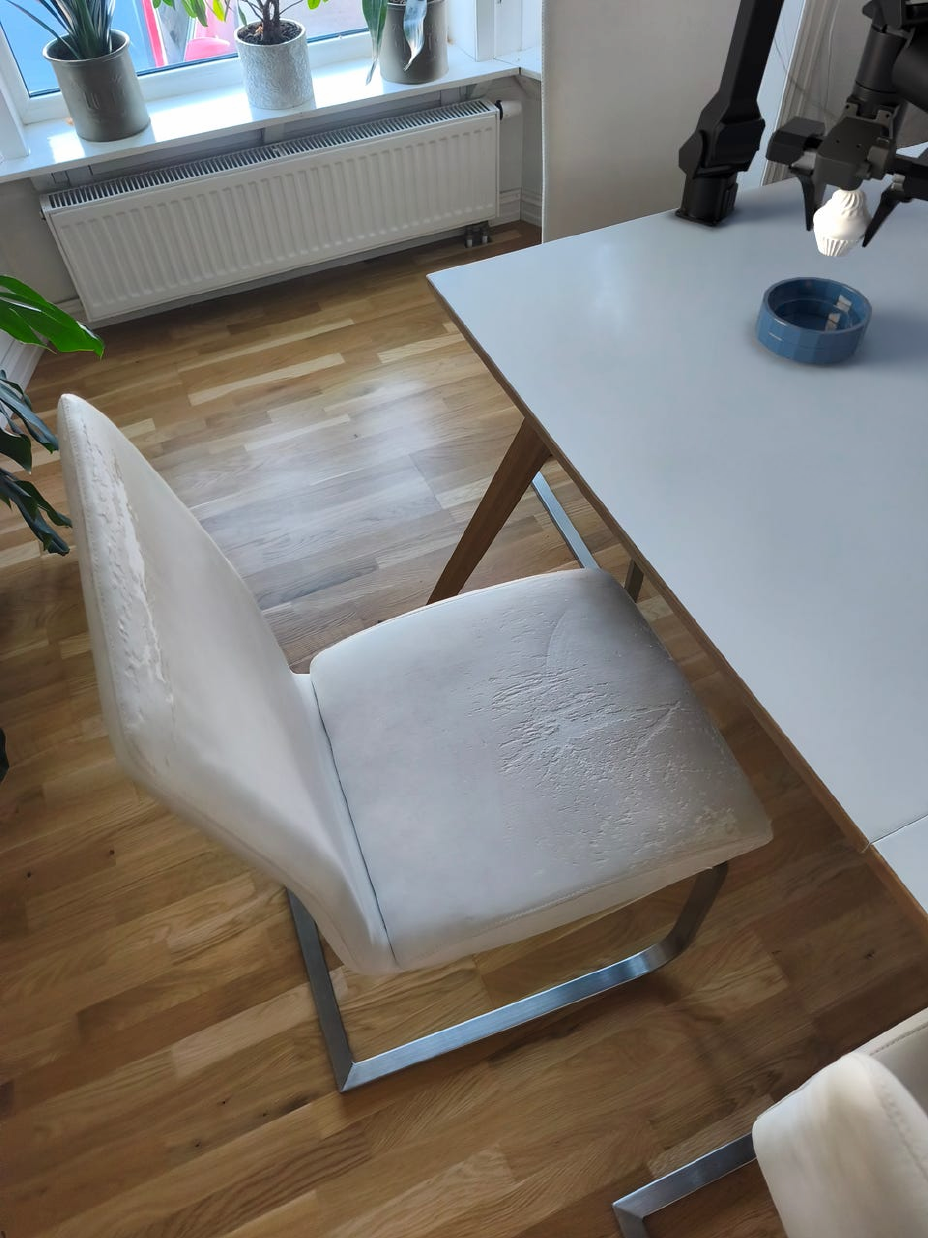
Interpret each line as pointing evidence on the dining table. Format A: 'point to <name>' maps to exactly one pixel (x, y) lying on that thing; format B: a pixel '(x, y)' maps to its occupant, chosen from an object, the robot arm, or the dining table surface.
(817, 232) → the muffin
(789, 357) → the bowl
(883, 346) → the dining table surface
